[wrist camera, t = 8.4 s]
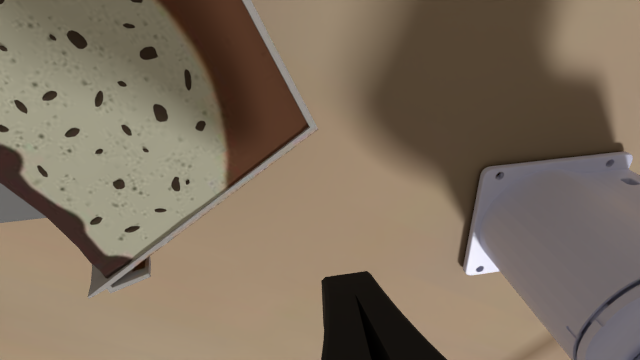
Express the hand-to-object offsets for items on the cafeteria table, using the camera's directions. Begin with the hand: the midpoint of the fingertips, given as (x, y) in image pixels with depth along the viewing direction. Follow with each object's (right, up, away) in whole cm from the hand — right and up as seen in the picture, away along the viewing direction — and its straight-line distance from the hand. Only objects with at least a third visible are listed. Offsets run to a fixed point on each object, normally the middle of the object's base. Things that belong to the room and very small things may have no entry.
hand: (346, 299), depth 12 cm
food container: (-4, +10, +4) cm, 11 cm away
